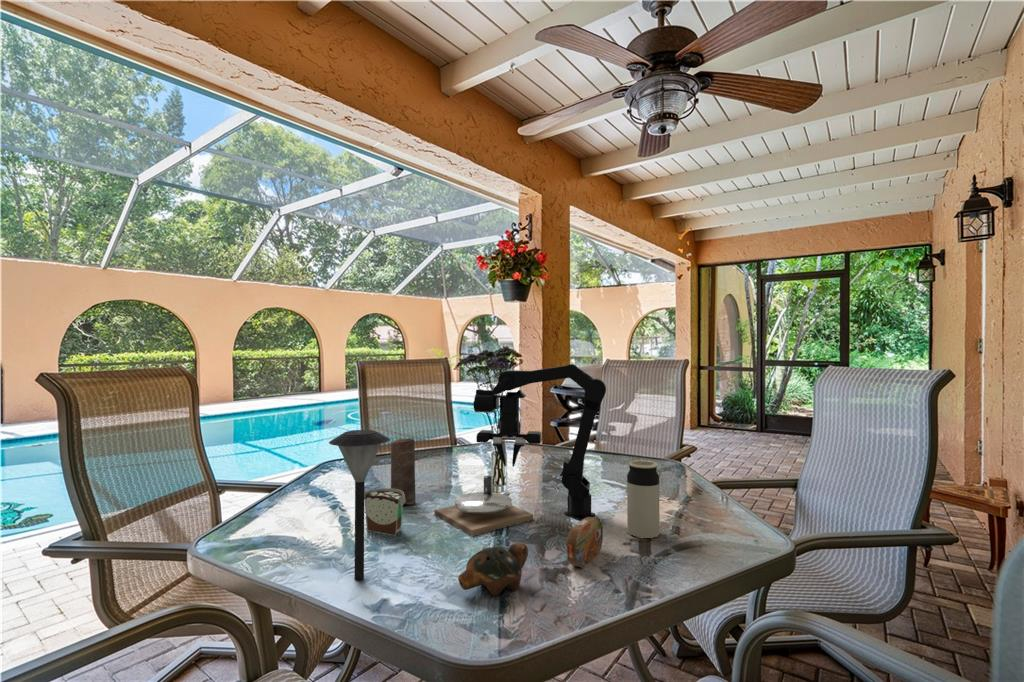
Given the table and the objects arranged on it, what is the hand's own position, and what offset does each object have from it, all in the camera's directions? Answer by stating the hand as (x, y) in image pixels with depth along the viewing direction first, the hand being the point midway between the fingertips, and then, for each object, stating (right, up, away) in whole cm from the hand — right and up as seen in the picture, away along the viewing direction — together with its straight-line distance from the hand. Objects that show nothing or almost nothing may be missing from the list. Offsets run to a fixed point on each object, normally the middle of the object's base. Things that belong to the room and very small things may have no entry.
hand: (509, 466), depth 143 cm
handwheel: (-7, -11, -6) cm, 14 cm away
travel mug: (+34, -13, -18) cm, 41 cm away
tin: (+17, -13, -34) cm, 40 cm away
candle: (-33, -13, +6) cm, 36 cm away
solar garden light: (-31, -12, -43) cm, 54 cm away
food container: (-32, -13, -15) cm, 37 cm away
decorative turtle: (-3, -12, -47) cm, 49 cm away
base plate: (-7, -13, -6) cm, 16 cm away
